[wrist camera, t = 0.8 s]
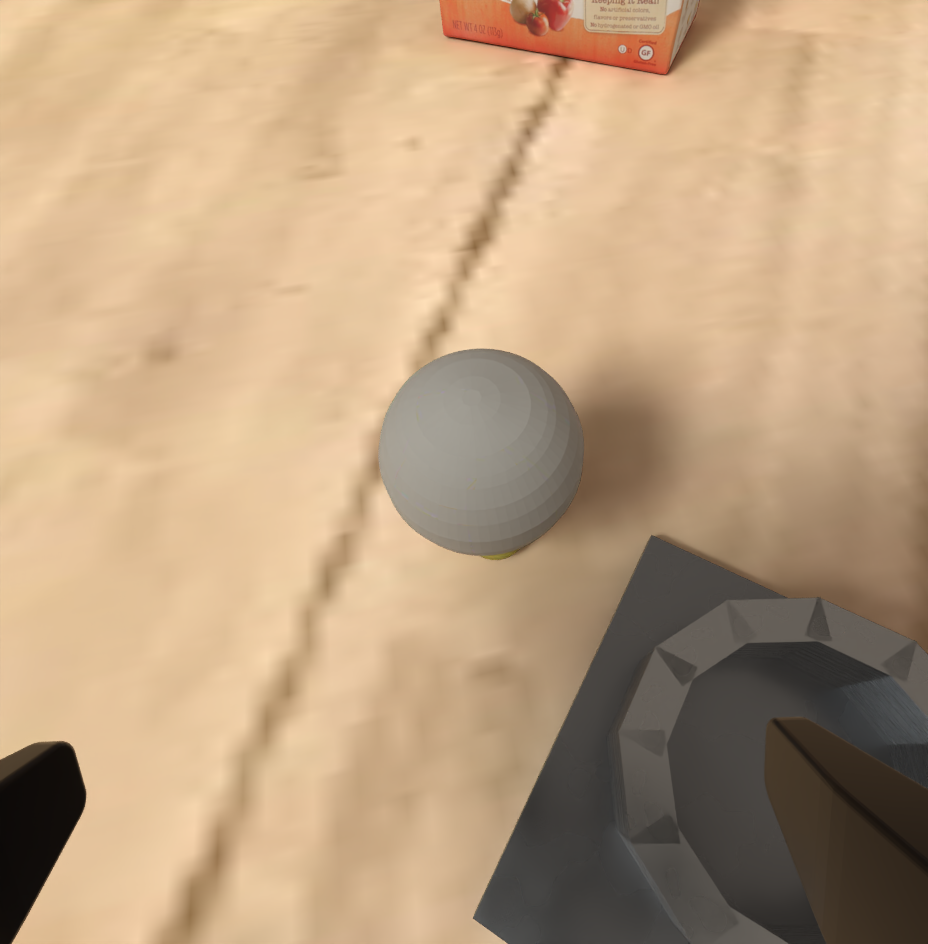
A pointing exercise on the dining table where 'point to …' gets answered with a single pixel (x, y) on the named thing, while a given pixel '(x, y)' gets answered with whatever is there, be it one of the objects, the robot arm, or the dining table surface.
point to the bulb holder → (696, 763)
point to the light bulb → (481, 452)
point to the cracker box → (578, 28)
